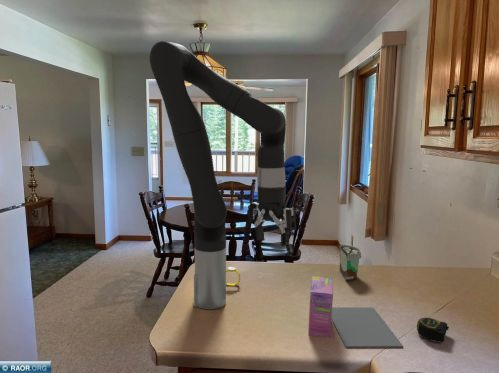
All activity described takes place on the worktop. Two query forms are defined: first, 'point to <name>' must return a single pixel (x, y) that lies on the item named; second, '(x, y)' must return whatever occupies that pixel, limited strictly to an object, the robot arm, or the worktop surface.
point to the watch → (233, 271)
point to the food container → (349, 262)
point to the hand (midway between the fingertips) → (272, 242)
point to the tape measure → (432, 329)
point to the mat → (363, 328)
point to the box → (320, 307)
